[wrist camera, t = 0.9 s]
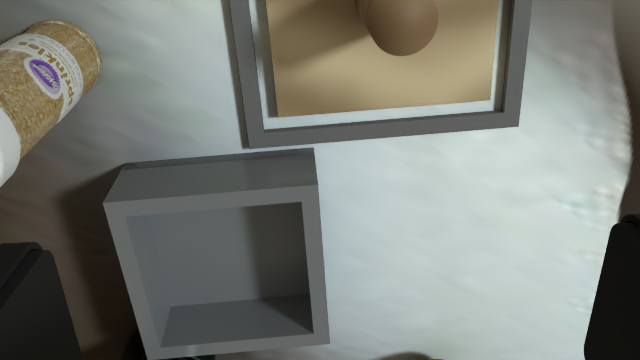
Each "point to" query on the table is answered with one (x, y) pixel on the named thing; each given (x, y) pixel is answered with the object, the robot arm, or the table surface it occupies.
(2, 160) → the sprinkles bottle
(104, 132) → the table surface
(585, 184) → the table surface
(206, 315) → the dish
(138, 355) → the supplement bottle
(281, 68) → the lid
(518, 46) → the picture frame
